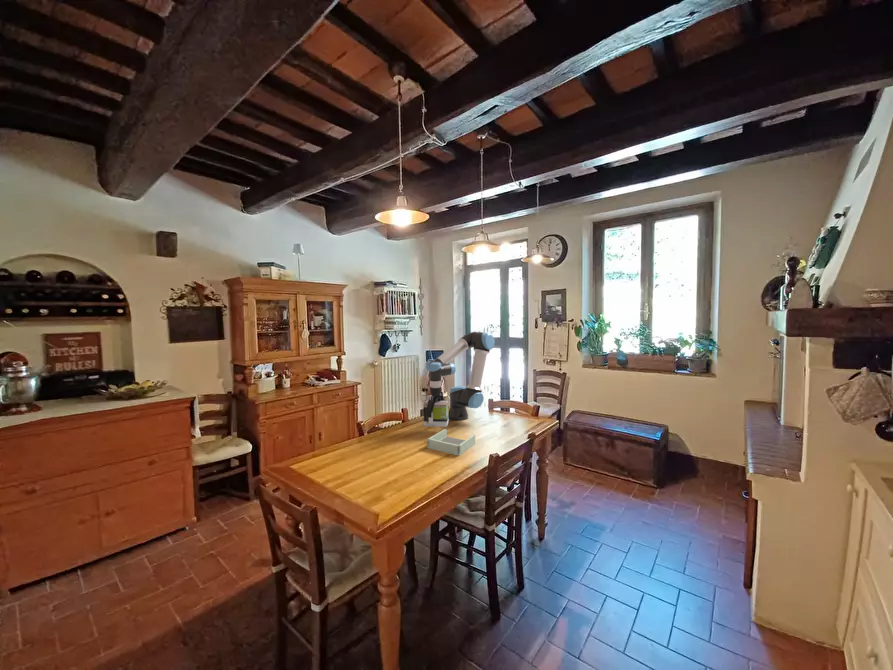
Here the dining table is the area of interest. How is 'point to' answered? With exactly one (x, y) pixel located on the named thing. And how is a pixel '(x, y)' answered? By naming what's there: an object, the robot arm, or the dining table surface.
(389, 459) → the dining table surface
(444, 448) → the grey tray
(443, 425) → the tea box
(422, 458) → the dining table surface
